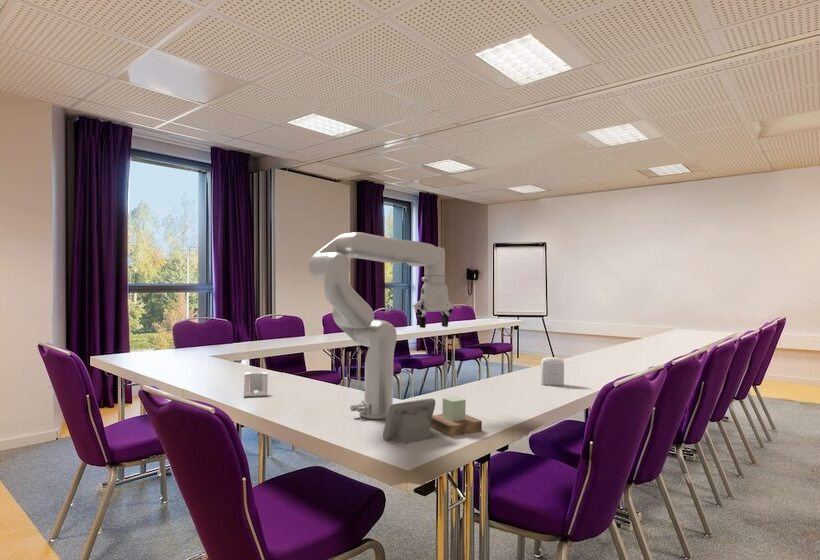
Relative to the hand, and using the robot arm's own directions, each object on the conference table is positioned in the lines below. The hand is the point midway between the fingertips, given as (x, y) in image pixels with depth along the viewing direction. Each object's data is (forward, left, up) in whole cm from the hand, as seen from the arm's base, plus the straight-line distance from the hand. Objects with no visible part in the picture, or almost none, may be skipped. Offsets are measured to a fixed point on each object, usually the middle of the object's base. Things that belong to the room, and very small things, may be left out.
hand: (433, 327), depth 175 cm
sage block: (-10, -28, -25) cm, 39 cm away
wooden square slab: (-10, -28, -28) cm, 41 cm away
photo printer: (+68, +6, -29) cm, 74 cm away
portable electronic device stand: (-54, +43, -29) cm, 75 cm away
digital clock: (-26, -29, -29) cm, 48 cm away
